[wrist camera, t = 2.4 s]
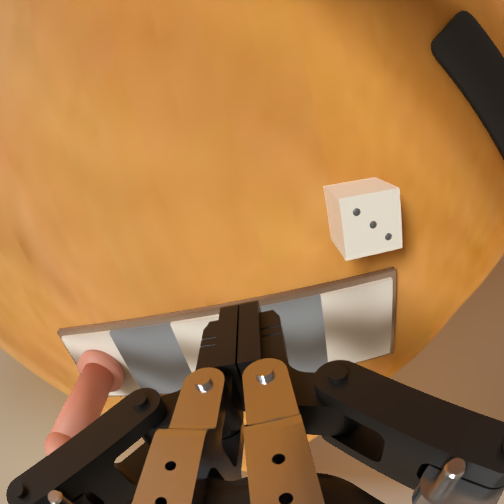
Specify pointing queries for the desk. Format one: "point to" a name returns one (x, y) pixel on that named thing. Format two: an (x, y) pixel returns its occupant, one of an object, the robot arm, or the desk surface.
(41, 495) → the robot arm
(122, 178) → the desk surface
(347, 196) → the die
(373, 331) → the board
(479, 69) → the phone
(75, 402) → the pawn
